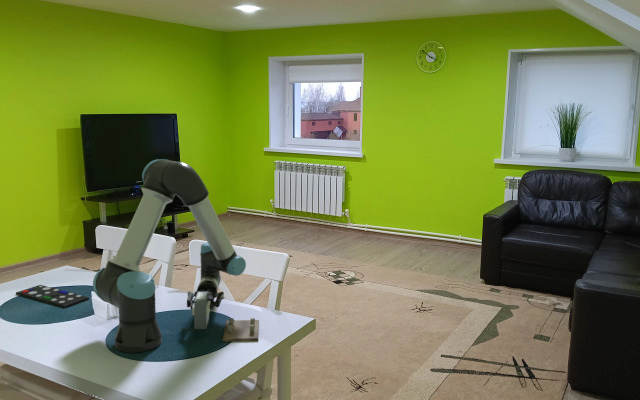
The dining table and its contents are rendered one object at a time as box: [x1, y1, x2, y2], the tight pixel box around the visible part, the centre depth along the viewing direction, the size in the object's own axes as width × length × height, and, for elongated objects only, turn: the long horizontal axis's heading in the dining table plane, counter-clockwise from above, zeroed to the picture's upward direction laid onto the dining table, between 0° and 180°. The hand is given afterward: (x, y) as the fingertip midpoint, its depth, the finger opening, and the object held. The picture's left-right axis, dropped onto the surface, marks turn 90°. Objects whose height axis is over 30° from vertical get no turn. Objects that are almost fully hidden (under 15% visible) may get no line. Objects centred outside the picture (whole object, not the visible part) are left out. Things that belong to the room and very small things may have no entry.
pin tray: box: [222, 317, 260, 342], centre depth 197 cm, size 12×16×4 cm
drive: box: [193, 291, 210, 330], centre depth 195 cm, size 4×10×10 cm, turn 5°
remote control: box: [15, 284, 90, 309], centre depth 227 cm, size 11×30×2 cm, turn 62°
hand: (200, 311), depth 190 cm, fingers closed on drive, 4 cm apart
